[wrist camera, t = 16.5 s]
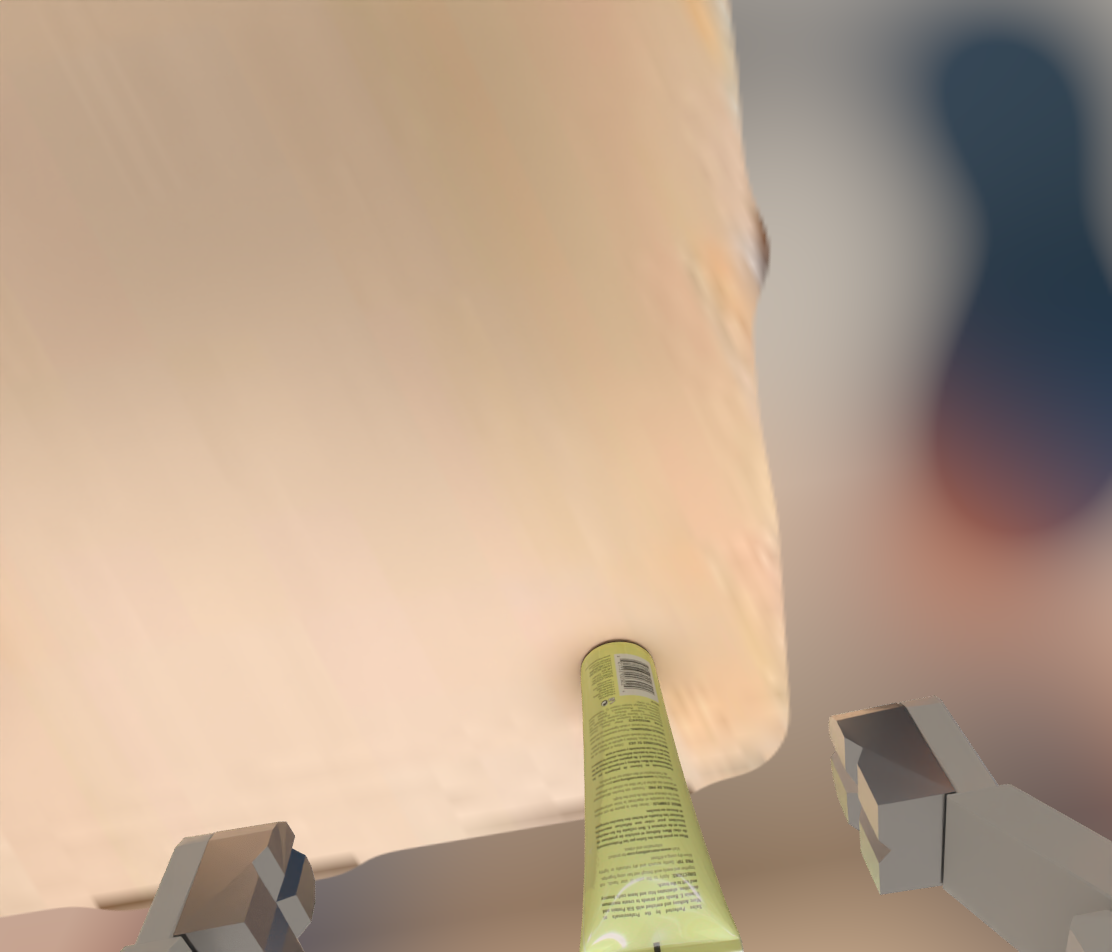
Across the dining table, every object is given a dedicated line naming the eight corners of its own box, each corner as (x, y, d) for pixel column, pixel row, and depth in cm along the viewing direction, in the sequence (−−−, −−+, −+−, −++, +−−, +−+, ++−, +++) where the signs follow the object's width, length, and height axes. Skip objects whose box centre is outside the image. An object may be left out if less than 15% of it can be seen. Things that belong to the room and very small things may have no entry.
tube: (613, 712, 56) (659, 1012, 38) (557, 678, 54) (578, 974, 37) (670, 662, 54) (745, 952, 36) (614, 624, 52) (664, 910, 35)
